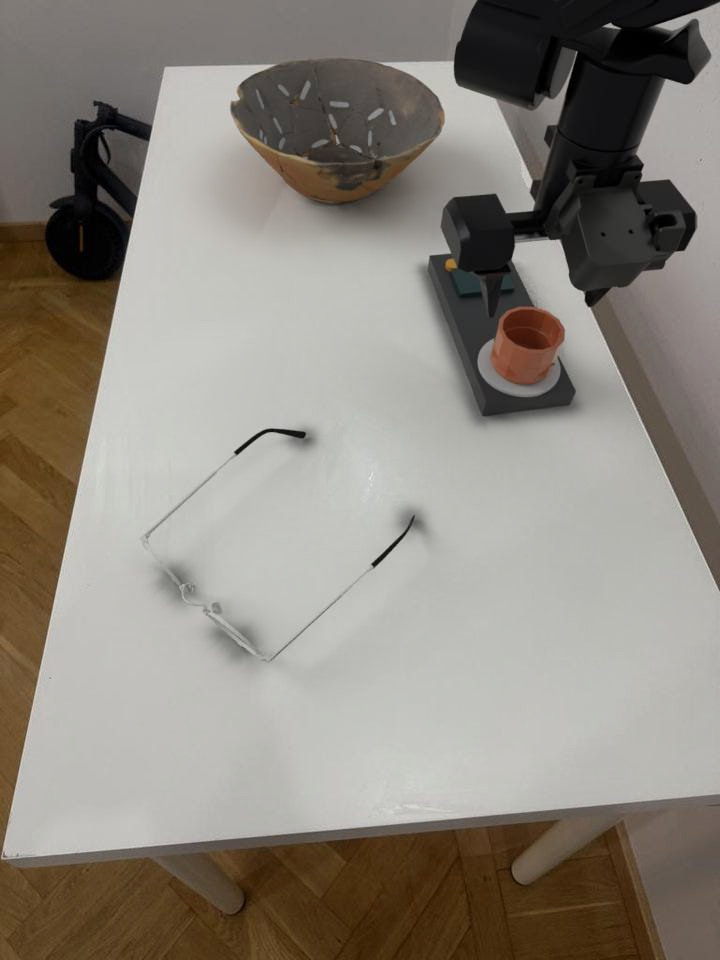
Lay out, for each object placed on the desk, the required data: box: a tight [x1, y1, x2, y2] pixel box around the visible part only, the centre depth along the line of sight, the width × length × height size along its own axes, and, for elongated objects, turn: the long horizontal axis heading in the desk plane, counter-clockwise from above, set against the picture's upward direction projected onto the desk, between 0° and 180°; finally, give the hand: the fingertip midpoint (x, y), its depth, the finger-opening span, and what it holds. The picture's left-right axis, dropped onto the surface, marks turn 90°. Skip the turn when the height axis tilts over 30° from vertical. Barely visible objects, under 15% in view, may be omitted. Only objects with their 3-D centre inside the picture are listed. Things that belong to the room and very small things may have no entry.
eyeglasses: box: [139, 427, 416, 664], centre depth 51 cm, size 16×19×5 cm
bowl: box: [229, 57, 446, 205], centre depth 78 cm, size 25×25×10 cm
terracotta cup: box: [490, 306, 566, 385], centre depth 60 cm, size 6×6×4 cm
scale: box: [427, 252, 577, 417], centre depth 67 cm, size 22×9×3 cm, turn 10°
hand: (539, 309), depth 56 cm, fingers open, 9 cm apart
